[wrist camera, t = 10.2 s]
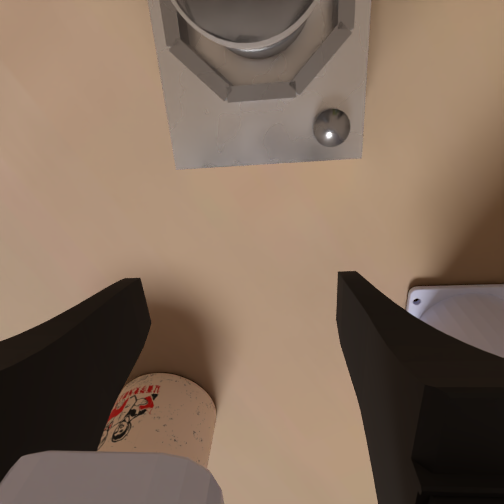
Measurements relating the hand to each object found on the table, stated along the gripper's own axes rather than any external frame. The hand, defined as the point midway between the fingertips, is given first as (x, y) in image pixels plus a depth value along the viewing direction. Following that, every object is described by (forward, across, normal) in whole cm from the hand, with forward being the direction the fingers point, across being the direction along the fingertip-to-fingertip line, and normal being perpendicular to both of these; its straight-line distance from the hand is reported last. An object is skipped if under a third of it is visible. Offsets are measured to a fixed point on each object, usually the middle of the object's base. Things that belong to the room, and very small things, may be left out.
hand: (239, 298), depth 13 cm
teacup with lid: (+11, +10, +19) cm, 24 cm away
